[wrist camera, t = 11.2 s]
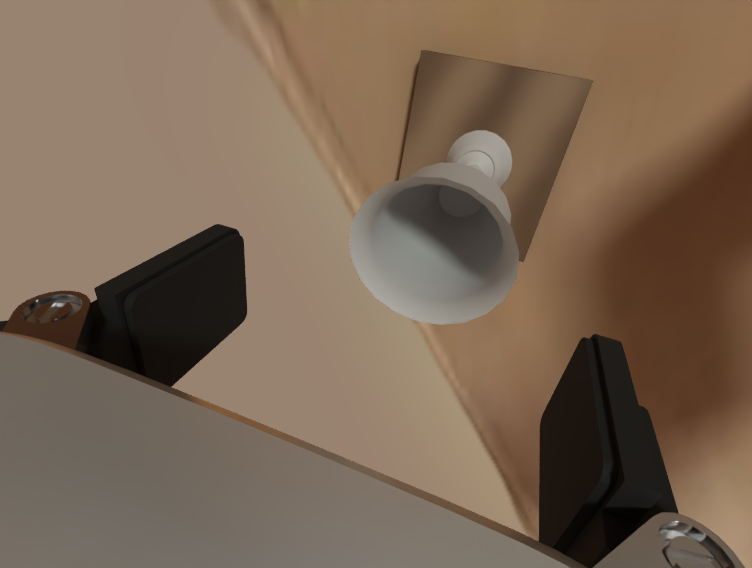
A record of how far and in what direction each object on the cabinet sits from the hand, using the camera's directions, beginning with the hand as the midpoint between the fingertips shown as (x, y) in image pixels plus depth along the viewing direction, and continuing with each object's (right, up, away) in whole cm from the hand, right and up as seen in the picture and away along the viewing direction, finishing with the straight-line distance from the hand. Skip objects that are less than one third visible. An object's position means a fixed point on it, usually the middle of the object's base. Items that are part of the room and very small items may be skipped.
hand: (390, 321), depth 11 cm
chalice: (+8, +11, +21) cm, 25 cm away
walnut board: (+8, +11, +23) cm, 26 cm away
